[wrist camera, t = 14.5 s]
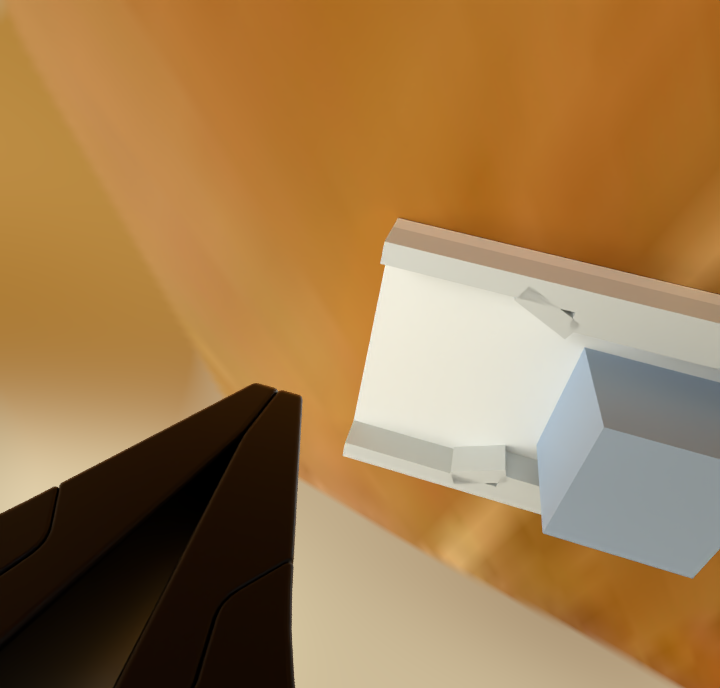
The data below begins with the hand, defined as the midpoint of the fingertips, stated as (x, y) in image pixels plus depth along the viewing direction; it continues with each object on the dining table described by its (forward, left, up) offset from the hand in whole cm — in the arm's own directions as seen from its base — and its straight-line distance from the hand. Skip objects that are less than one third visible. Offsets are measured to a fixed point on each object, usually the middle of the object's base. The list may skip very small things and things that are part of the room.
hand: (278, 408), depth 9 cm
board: (-7, +5, -12) cm, 15 cm away
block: (-10, +6, -11) cm, 16 cm away
